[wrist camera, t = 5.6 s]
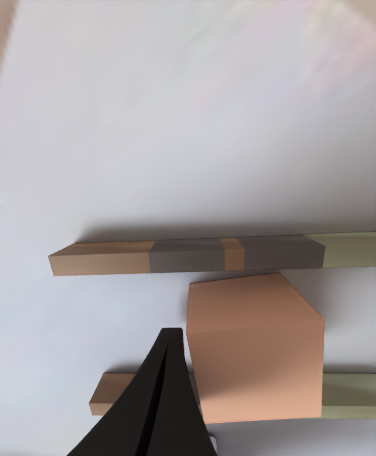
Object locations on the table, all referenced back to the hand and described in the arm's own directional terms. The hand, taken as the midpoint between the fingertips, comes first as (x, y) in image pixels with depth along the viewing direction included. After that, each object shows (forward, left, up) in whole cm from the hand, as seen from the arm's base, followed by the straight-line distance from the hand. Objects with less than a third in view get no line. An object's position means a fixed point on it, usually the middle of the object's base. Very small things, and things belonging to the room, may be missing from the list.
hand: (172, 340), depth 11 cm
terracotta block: (0, -4, -2) cm, 5 cm away
